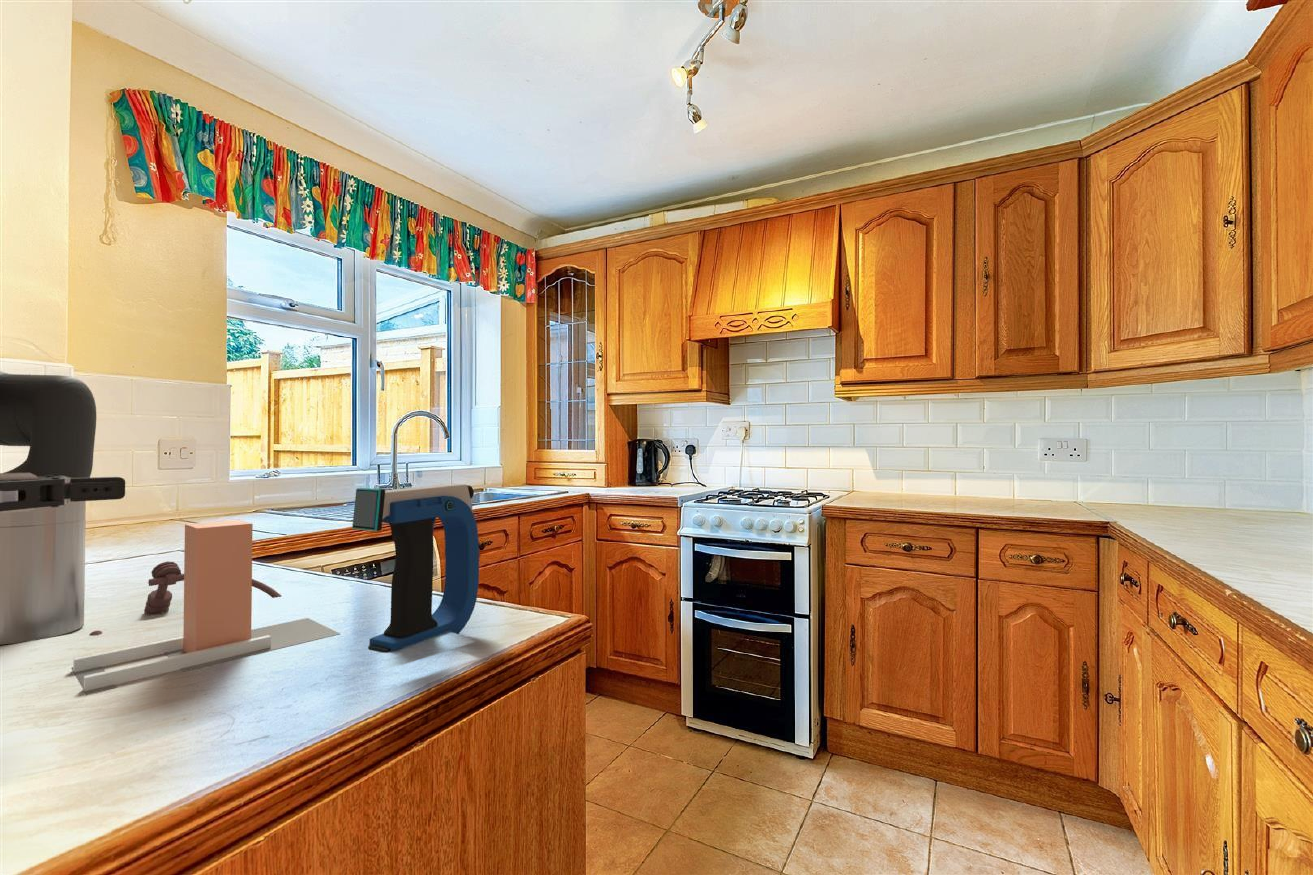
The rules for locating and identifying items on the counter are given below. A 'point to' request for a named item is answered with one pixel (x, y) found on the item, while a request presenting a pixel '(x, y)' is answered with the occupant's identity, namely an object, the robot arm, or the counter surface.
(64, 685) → the counter surface
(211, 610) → the terracotta block
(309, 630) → the channel
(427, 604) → the handheld scanner
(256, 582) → the toilet paper hanger
